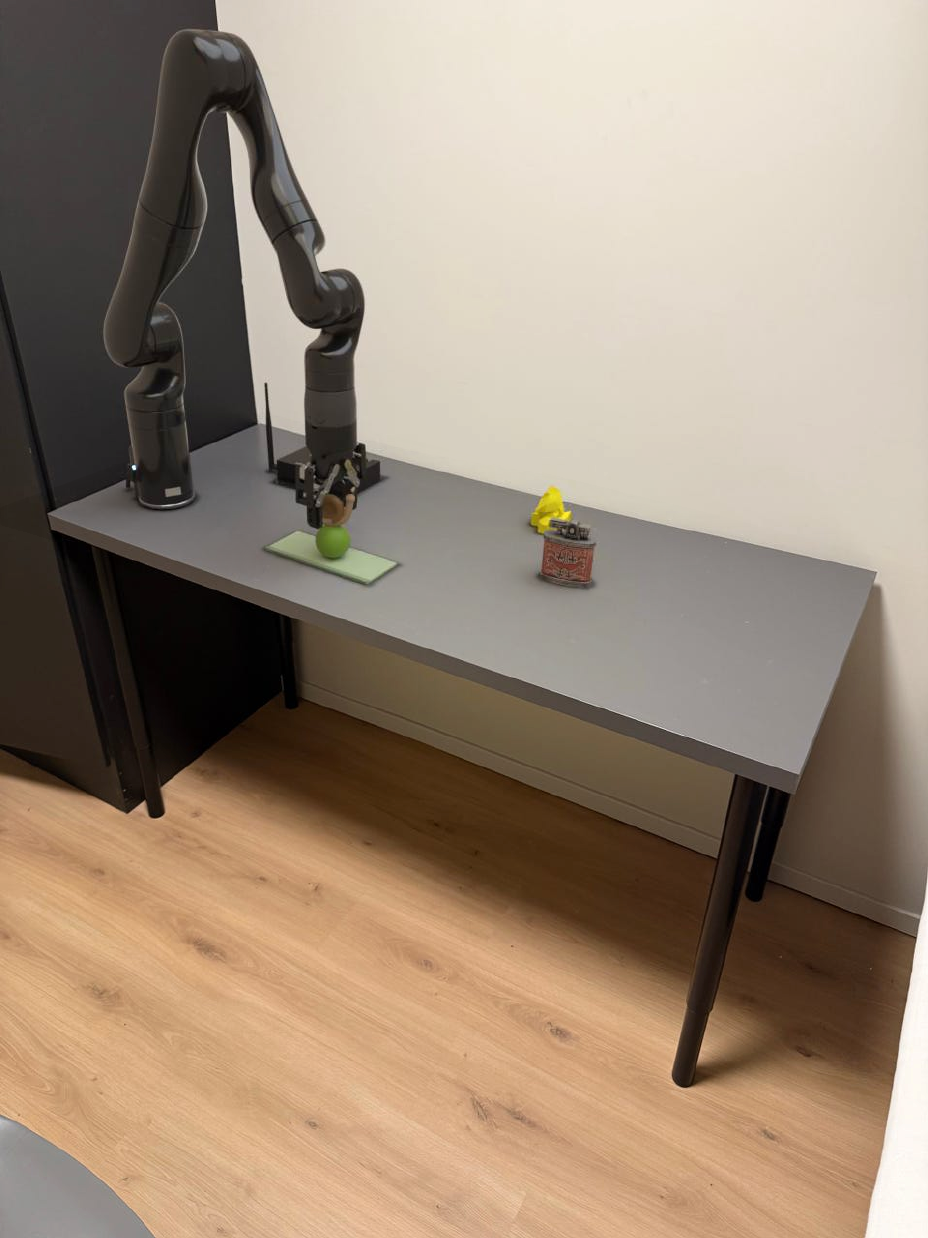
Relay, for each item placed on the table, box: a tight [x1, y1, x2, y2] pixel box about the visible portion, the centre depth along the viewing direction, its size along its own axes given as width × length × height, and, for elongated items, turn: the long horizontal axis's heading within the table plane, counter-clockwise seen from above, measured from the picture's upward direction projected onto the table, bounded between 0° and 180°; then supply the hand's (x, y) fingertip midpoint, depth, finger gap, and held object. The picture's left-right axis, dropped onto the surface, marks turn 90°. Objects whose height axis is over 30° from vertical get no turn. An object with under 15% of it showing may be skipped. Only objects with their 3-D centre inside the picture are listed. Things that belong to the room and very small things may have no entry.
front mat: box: [264, 530, 398, 586], centre depth 146 cm, size 20×8×1 cm, turn 59°
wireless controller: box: [263, 382, 385, 503], centre depth 169 cm, size 20×14×17 cm
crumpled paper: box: [530, 485, 572, 535], centre depth 158 cm, size 6×8×8 cm
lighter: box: [539, 518, 597, 589], centre depth 140 cm, size 8×3×10 cm, turn 71°
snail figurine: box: [315, 487, 355, 558], centre depth 142 cm, size 5×6×12 cm
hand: (333, 517), depth 142 cm, fingers open, 8 cm apart
